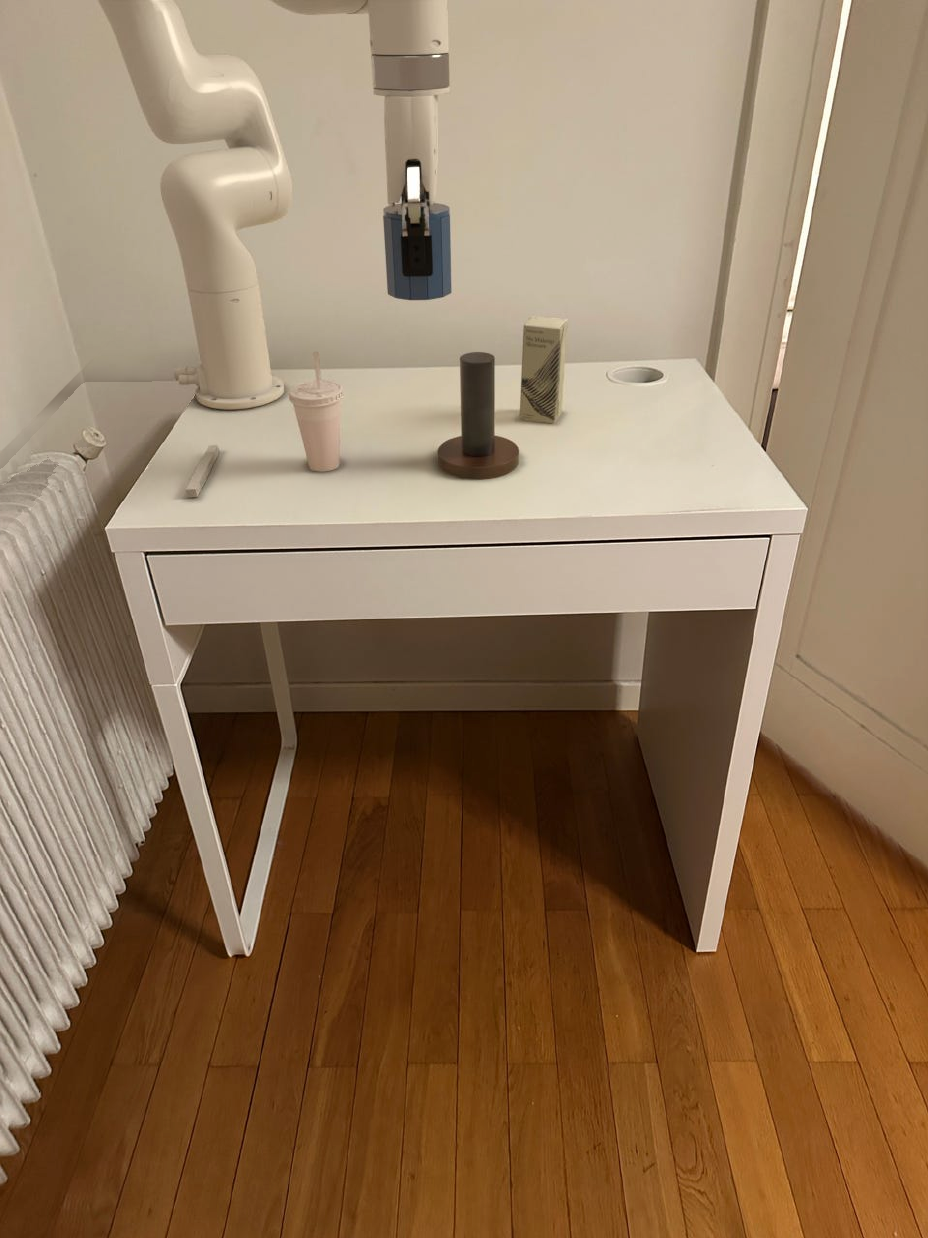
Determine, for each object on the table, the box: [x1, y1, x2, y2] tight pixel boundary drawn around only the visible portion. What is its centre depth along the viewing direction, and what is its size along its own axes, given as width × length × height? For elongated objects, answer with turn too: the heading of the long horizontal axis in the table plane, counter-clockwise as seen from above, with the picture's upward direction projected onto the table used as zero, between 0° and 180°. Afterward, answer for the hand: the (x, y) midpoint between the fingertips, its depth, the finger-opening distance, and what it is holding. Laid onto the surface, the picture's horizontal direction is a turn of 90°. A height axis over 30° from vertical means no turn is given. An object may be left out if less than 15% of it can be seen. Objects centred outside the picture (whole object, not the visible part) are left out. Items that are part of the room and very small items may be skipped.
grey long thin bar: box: [185, 444, 220, 498], centre depth 109 cm, size 12×1×1 cm, turn 1°
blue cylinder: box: [382, 202, 453, 301], centre depth 97 cm, size 7×7×8 cm
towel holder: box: [437, 351, 520, 480], centre depth 107 cm, size 10×10×13 cm
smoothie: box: [288, 351, 345, 473], centre depth 107 cm, size 6×6×14 cm
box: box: [519, 315, 569, 424], centre depth 119 cm, size 5×4×13 cm
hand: (418, 265), depth 98 cm, fingers closed on blue cylinder, 7 cm apart
